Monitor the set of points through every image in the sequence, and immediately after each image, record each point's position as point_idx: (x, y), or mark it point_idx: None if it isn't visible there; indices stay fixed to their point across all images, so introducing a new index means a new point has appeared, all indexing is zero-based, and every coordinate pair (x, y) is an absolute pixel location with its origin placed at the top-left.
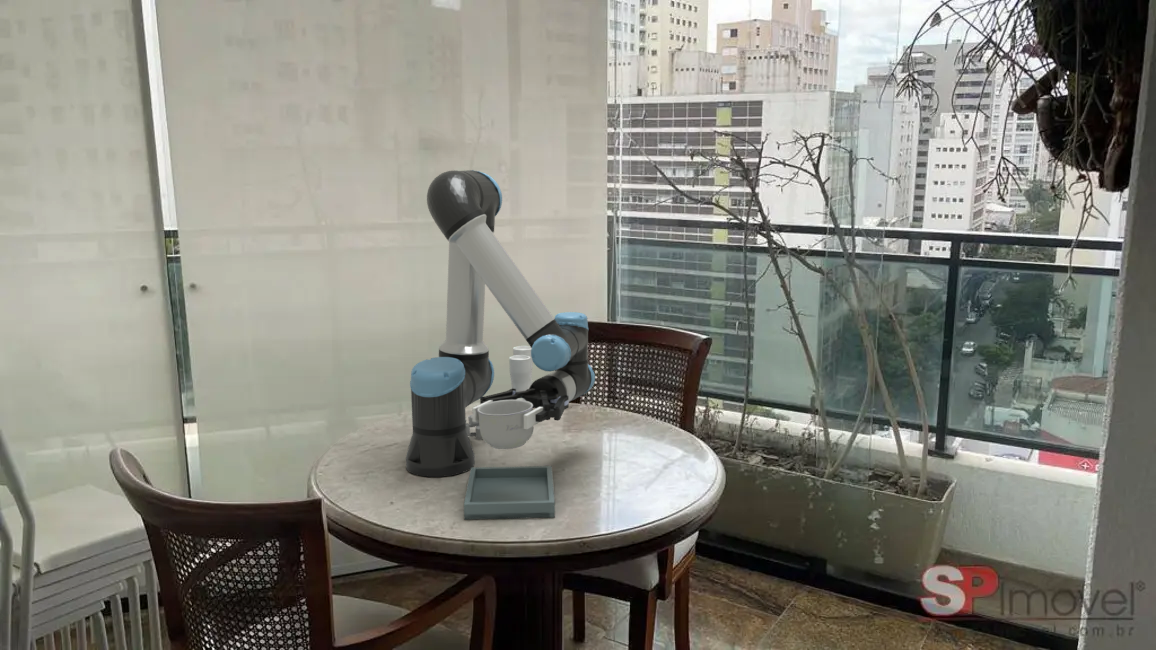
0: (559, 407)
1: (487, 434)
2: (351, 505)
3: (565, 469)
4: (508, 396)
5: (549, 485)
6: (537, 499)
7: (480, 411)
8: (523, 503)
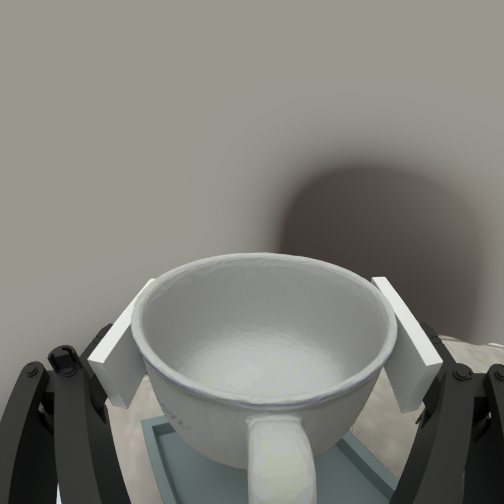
0: (22, 373)
1: (286, 316)
2: (448, 348)
3: None
4: (439, 492)
5: (169, 494)
6: (194, 475)
7: (358, 294)
8: None
